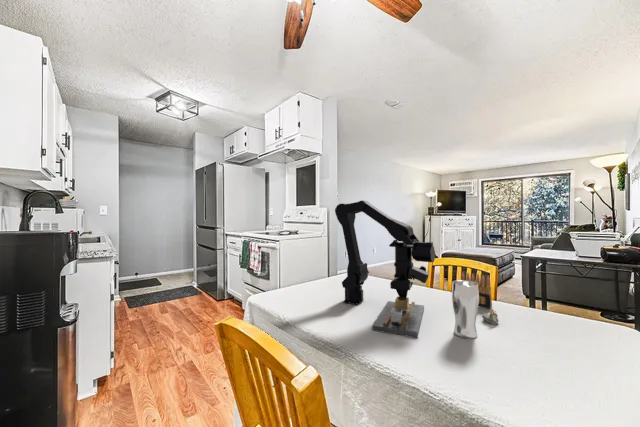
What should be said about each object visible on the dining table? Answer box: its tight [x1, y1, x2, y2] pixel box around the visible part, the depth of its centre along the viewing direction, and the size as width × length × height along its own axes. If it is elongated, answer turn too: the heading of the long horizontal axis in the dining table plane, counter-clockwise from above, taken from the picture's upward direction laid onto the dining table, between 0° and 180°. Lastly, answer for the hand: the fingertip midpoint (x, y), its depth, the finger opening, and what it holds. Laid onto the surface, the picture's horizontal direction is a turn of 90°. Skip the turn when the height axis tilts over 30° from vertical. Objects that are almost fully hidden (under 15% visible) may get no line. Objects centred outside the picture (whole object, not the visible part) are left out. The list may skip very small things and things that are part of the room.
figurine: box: [481, 306, 499, 325], centre depth 91 cm, size 5×4×6 cm
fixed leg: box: [391, 308, 402, 324], centre depth 87 cm, size 3×3×4 cm
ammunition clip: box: [460, 271, 493, 310], centre depth 108 cm, size 11×2×12 cm, turn 44°
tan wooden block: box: [394, 296, 410, 310], centre depth 98 cm, size 4×4×3 cm
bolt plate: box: [371, 301, 425, 339], centre depth 94 cm, size 13×25×2 cm, turn 156°
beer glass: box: [451, 279, 479, 340], centre depth 82 cm, size 7×7×15 cm
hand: (403, 303), depth 101 cm, fingers closed
